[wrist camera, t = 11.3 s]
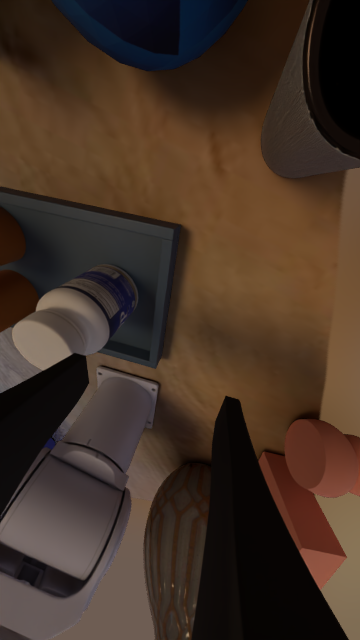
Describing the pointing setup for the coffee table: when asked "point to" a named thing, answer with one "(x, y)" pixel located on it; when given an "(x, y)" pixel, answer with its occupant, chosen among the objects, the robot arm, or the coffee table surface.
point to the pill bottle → (76, 316)
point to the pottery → (313, 488)
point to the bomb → (152, 28)
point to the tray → (100, 261)
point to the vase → (176, 549)
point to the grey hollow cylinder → (318, 96)
